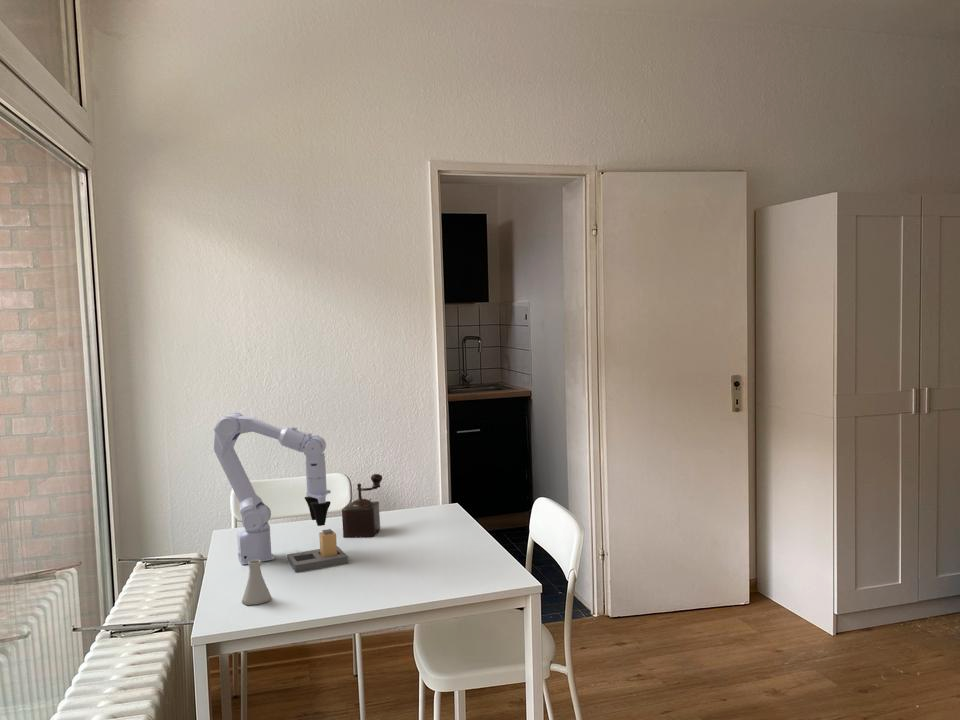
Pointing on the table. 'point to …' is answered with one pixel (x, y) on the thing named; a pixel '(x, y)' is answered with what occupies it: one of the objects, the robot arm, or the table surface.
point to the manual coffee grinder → (362, 514)
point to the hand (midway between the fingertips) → (318, 522)
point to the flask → (255, 586)
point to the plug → (328, 543)
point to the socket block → (315, 560)
